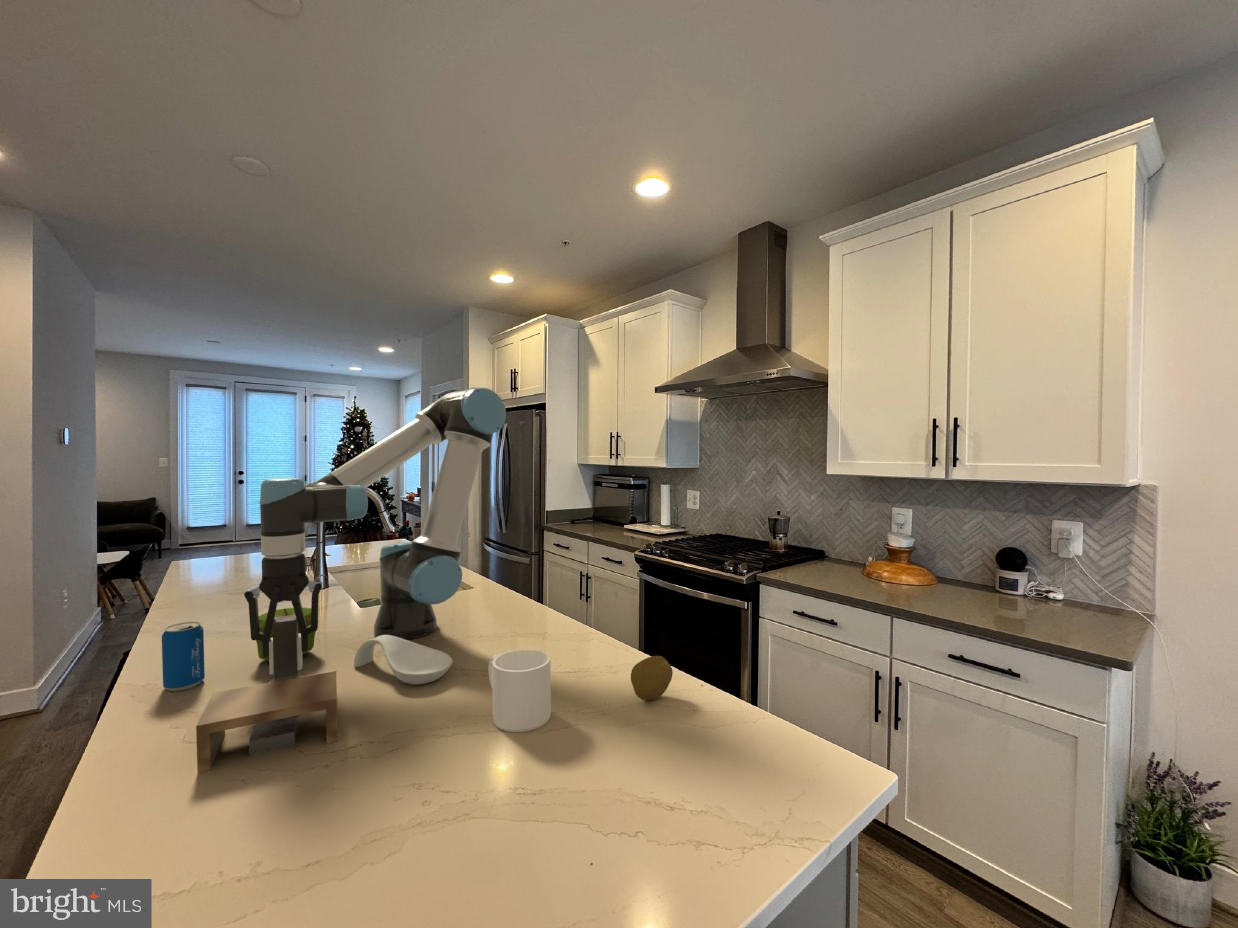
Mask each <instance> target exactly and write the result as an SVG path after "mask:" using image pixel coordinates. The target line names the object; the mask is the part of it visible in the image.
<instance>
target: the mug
mask: <svg viewBox="0 0 1238 928" xmlns="http://www.w3.org/2000/svg"><path fill="white" fill-rule="evenodd" d="M551 667H552V666H551V656H550V654H549V653H547V652H546V651H542V650H538V649H533V648H532V649H531V648H525V649H523V648H522V649H521V648H519V649H514V650H509V651H505V652H502V653H496V654H494V655H492V656H491V657H490V659H489V661H488V669H487V671H488V679H489V683H490V687H491V689H492V722H493V724H494V725H495V726H496V728H497V729H500V730H501V731H504V732H508V733H527V732H530V731H531V732H532V731H534V730H538V729H539V728H541V727H542V726H545V725H546V723H548V722H549V720H550V718H551V717H552V703H551V701H552V692H551V691H552V687H551V686H552V685H551V684H552V683H551V677H552V676H551V669H552V668H551Z"/></svg>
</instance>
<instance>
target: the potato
mask: <svg viewBox="0 0 1238 928" xmlns="http://www.w3.org/2000/svg"><path fill="white" fill-rule="evenodd" d="M673 675H674V674H673V668H672V666H671V664H670V662H669V661H668V660H667V659H666V658H665V657H663V656H662V655H653V656H649V657H646V658H644V659H642V660H640V661H639V662H637V663H636V664H634V666H632V669H631V672H630V682H631V685H632V687H633V691H634V694H635V695H636V697H637V698H639V699H641V700H642V701H647V702H648V701H656V700H658V699H659V698H661V697H662V695H664V694H665V692H666V691H667V689H668V687H669V685H670V683H671V681H672V678H673Z"/></svg>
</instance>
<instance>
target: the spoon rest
mask: <svg viewBox="0 0 1238 928" xmlns="http://www.w3.org/2000/svg"><path fill="white" fill-rule="evenodd" d="M376 644H379V645H380V646H381V647H382V649H383V653H384V656H385V659H386V662H387V664H388V667H389V669H390V670H391V672H392V673H393V675H394V676H395V678H397V679H398V680H400V682H403V683H404V684H407V685H413V686H417V685H418V686H419V685H425V684H430V683H432V682H434V681H437V680H438V679H440V678H441V677H443V676H444V675H445V674H446V673H447V671H449V670H450V668H451V666H452V665H453V661H454V660H453V658H452V657H451V656H450V655H449V654H448V653H446V652H444V651H441V650H439V649H435V648H432V647H429V646H425V645H422V644H419V643H417V642H414V641H413V642H412V641H410V640H409V639H406V640H405V639H402V638H398V637H395V636H391V635H381V636H378V637H374V638H370V639H368V640H365V641H364V642H362V644H361V645H360V646H359V648H357V651H356V653H355V657H354V659H353V660H354V661H353V667H354V668H360V667H362V666H365V665H367V664H369V663H371V662H374V649H375V645H376Z"/></svg>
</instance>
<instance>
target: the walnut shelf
mask: <svg viewBox="0 0 1238 928" xmlns="http://www.w3.org/2000/svg"><path fill="white" fill-rule="evenodd" d="M337 688H338V687H337V670H334V671H329V672H323V673H319V674H318V673H317V674H311V675H307V676H306V675H305V676H300V678H294V679H288V680H283V681H277V682H271V683H270V682H267V683H261V684H254V685H250V686H249V685H248V686H245V687H244V686H243V687H238V688H232V689H227V690H222V691H221V690H220V691H216V692H213V693H211V696H210V698H209V700H208V702H207V704H206V706H205V708H204V710H203V712H202V714H201V715H200V718H199V720H198V721H197V723H196V726H195V729H196V731H195V733H196V735H195V736H196V763H197V765H196V766H197V767H196V769H197V770H196V771H197V772H196V773H197V774H200V773H201V774H202V773H206V772H210V771H211V769H212V767H213V765H214V762H215V759H216V756H217V754H218V752H219V749H220V746H221V744H222V741H223V738H224V736H225V734H226V731H228V730H229V731H230V730H233V729H237V728H242V727H247V726H252V725H253V726H254V724H258V723H263V722H268V721H272V720H277V719H282V718H287V717H292V716H297V717H298V716H301V715H306V714H310V713H316V712H319V711H325V722H326V723H325V725H326V734H325V735H326V744H330V743H335V742H337V741H338V697H337V696H338V695H337V694H338V693H337V692H338V691H337Z"/></svg>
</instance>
